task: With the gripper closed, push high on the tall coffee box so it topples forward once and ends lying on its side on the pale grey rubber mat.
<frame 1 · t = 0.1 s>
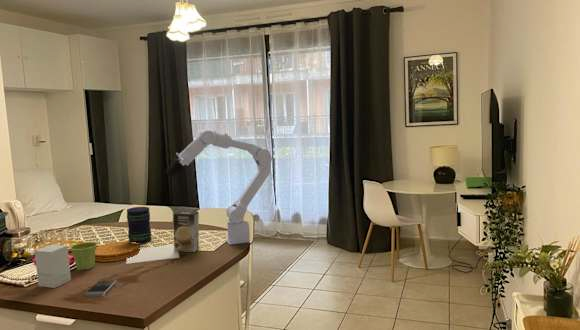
hand: (167, 174, 180), 32 cm above the kitchen counter, tool tilted 50°, fingers open, 7 cm apart
cell phone: (101, 291, 142), on the kitchen counter
storage jar: (140, 241, 196), on the kitchen counter
supplement box: (54, 283, 148), on the kitchen counter
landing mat: (153, 254, 177), on the kitchen counter
coffee box: (186, 250, 181), on the kitchen counter, touching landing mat
plant pot: (85, 268, 163), on the kitchen counter
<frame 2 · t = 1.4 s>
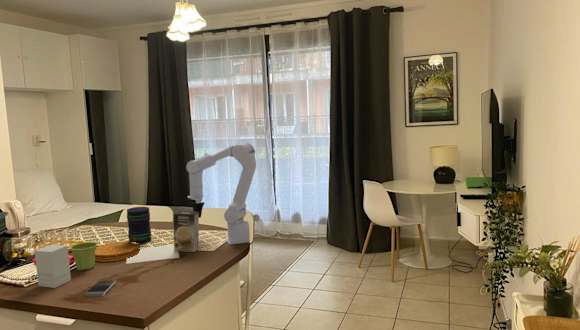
hand: (197, 215, 197), 11 cm above the kitchen counter, tool pointing down, fingers open, 7 cm apart
nothing on the kitchen counter moved.
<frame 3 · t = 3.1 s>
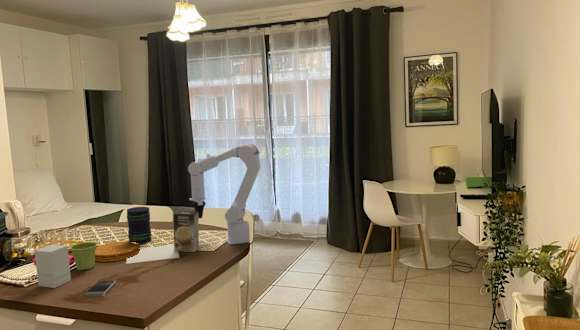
hand: (199, 217, 194), 10 cm above the kitchen counter, tool pointing down, fingers closed
nothing on the kitchen counter moved.
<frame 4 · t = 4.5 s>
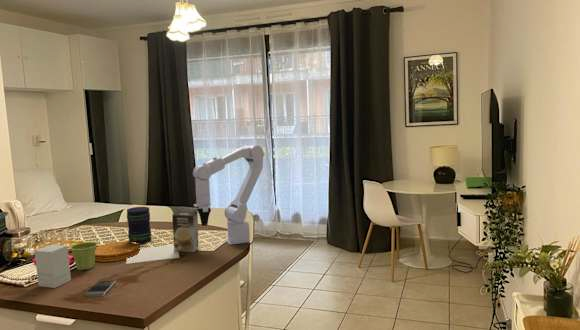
hand: (204, 225, 182), 10 cm above the kitchen counter, tool pointing down, fingers closed
coffee box: (186, 249, 181), on the kitchen counter, touching gripper, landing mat
everything else where it was.
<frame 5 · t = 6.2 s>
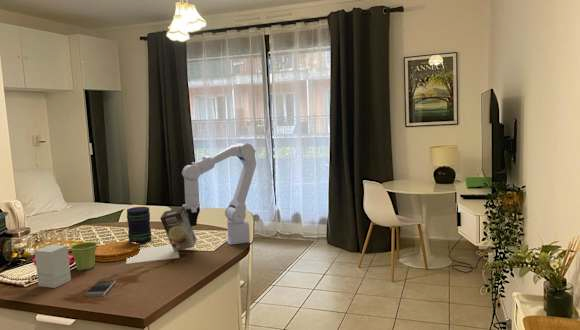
hand: (193, 225, 181), 10 cm above the kitchen counter, tool pointing down, fingers closed, pressing on coffee box
coffee box: (185, 246, 181), point 2 cm above the kitchen counter, touching gripper, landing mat
everything else where it was.
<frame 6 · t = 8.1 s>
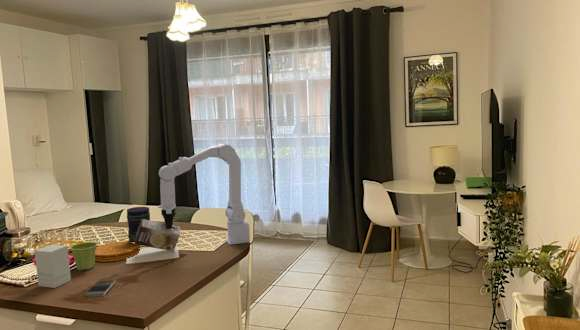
hand: (168, 227, 178), 11 cm above the kitchen counter, tool pointing down, fingers closed on coffee box, 4 cm apart
coffee box: (177, 239, 180), point 5 cm above the kitchen counter, touching gripper, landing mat
everything else where it was.
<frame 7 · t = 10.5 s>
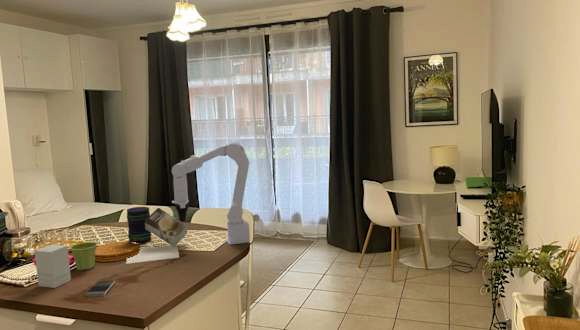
hand: (182, 221, 189), 10 cm above the kitchen counter, tool pointing down, fingers closed
coffee box: (181, 236, 185), point 5 cm above the kitchen counter, touching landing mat
everything else where it was.
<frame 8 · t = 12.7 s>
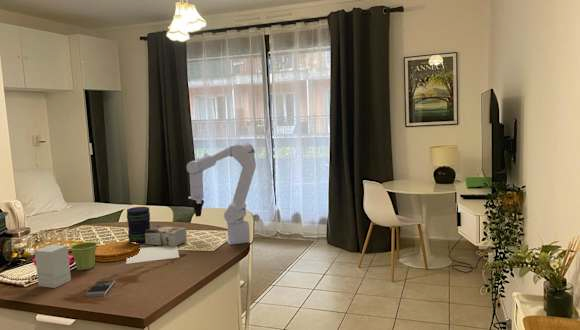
hand: (198, 216, 197), 10 cm above the kitchen counter, tool pointing down, fingers closed
coffee box: (181, 237, 189), point 3 cm above the kitchen counter, touching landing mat
everything else where it was.
at the end: coffee box tilted 91°; coffee box touching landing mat, kitchen counter; the gripper is holding nothing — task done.
